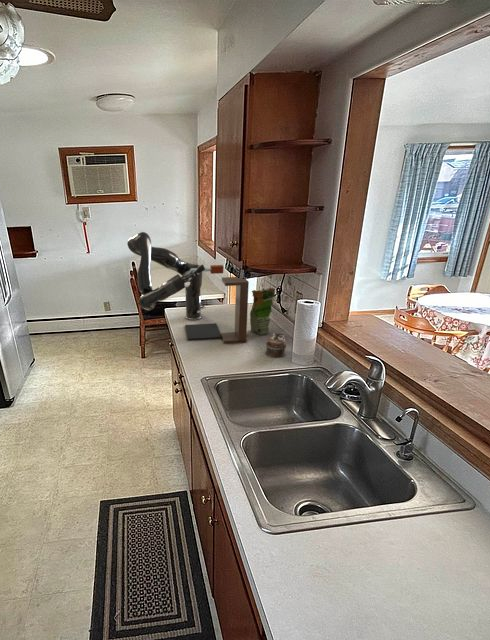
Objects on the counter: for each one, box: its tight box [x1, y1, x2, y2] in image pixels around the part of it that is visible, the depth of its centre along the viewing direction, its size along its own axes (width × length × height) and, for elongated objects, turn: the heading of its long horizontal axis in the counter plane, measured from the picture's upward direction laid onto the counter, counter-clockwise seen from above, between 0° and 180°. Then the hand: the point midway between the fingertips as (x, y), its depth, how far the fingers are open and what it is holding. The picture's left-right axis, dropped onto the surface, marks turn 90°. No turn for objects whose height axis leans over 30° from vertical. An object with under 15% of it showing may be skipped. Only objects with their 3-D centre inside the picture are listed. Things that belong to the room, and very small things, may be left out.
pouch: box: [249, 287, 276, 336], centre depth 212 cm, size 11×12×25 cm
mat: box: [185, 322, 222, 341], centre depth 220 cm, size 22×18×1 cm
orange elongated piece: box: [191, 264, 224, 275], centre depth 193 cm, size 4×16×3 cm, turn 92°
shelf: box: [220, 276, 250, 344], centre depth 203 cm, size 12×12×32 cm
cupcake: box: [265, 332, 287, 358], centre depth 188 cm, size 10×10×10 cm
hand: (203, 266), depth 192 cm, fingers closed on orange elongated piece
